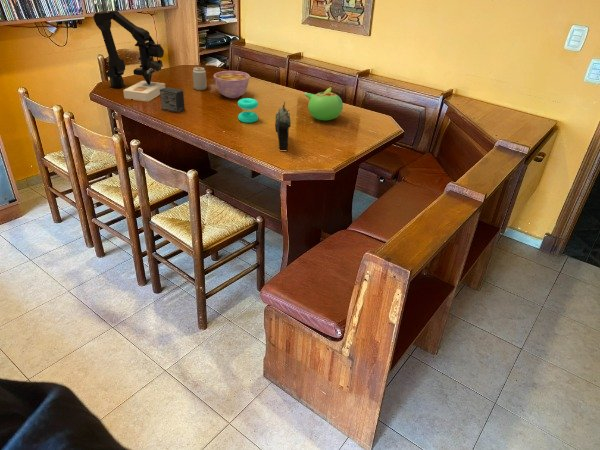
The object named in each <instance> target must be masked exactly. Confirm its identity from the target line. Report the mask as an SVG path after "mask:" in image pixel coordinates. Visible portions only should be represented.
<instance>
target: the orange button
mask: <svg viewBox="0 0 600 450" xmlns="http://www.w3.org/2000/svg"><path fill="white" fill-rule="evenodd" d="M134 90H135V91H144V90H146V88H141V87H137V88H135V89H134Z"/></svg>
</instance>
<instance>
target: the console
mask: <svg viewBox="0 0 600 450" xmlns="http://www.w3.org/2000/svg"><path fill="white" fill-rule="evenodd" d="M145 83H147V82H146V80H141V81H138V82H137V83H134V84H133V85H131V86H129V87H126V88H125V89H123V90H122V91H123V97H124V99H125V100H131V99H133V101H140V102H151V101H152V100H153V99H155V98H156V97H158V96H160V89H163V88H166V83H164V82H158V81H157V82H156V81H151V83H155V85H153V86H145V85H144V84H145ZM137 87H141V88H146V90H144V91H135V90H134V89H135V88H137Z"/></svg>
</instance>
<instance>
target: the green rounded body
mask: <svg viewBox="0 0 600 450" xmlns="http://www.w3.org/2000/svg"><path fill="white" fill-rule="evenodd" d="M332 89H333V88H332V87H331V86H330V87H328V88H327V89H326V90H325V91H321V92H317V93H316V94H315V93H311V92H310V93H309V92H304V93H303V95H304V96H305V97H306V98H307V99H309V100H308V104H307V110H308V112H309V114H310V116H312V117H313V118H314V119H316V120H319V121H331V120H334V119H337V117H339V116H340V115H341V113H342V111H343V108H344V105H343V103H344V102H343V100H342V98H341V97H340V96H339V95H338V94H336V93H334V92H332Z"/></svg>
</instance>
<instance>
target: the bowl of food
mask: <svg viewBox="0 0 600 450" xmlns="http://www.w3.org/2000/svg"><path fill="white" fill-rule="evenodd" d="M250 76H251V75H250V74H249V73H247V72H244V71H239V70H224V71H218V72H215V73H214V74H213V78H214V81H215V86H216V89H217V91H218V92H219V93H220V94H221V95H222V96H224V97H226V98H229V99H237V98H240V97H241V96H243V95H244V94H246V92H247V90H248V85H249V81H250Z"/></svg>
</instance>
